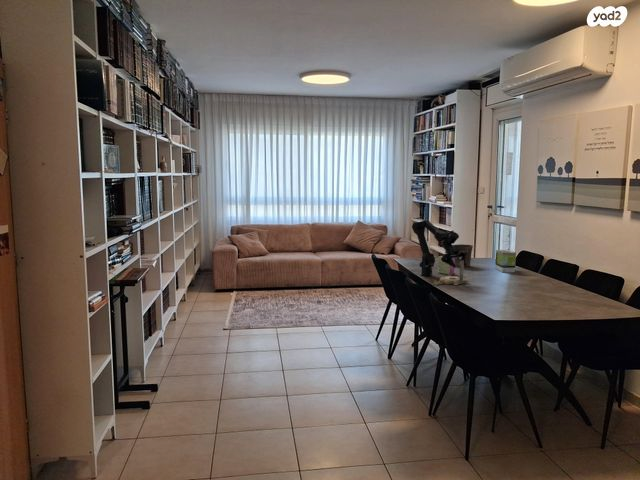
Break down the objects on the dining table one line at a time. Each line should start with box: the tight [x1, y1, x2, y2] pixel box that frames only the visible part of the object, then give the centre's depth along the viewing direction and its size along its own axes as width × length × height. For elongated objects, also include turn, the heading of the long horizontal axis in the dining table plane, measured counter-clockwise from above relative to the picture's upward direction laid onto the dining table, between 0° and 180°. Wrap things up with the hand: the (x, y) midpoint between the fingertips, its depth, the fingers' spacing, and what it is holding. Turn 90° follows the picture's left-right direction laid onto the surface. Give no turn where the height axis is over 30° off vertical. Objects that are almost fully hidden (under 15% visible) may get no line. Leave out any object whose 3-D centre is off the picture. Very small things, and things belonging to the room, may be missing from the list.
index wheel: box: [435, 261, 470, 286], centre depth 323 cm, size 19×21×15 cm
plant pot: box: [452, 243, 474, 268], centre depth 382 cm, size 16×16×16 cm
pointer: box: [433, 280, 442, 286], centre depth 318 cm, size 5×2×2 cm, turn 118°
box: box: [437, 255, 455, 276], centre depth 354 cm, size 10×6×12 cm, turn 40°
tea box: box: [494, 249, 517, 273], centre depth 363 cm, size 15×10×15 cm
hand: (460, 267), depth 316 cm, fingers open, 9 cm apart
